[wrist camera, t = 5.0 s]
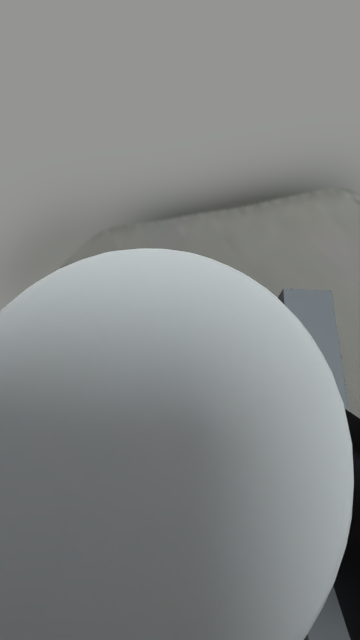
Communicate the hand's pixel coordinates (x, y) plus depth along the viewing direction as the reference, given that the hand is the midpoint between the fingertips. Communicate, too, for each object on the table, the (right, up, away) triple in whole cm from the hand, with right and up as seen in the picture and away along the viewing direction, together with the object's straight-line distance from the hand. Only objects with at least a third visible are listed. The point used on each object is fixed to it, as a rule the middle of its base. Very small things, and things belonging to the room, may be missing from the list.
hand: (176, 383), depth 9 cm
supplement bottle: (0, -4, +6) cm, 7 cm away
